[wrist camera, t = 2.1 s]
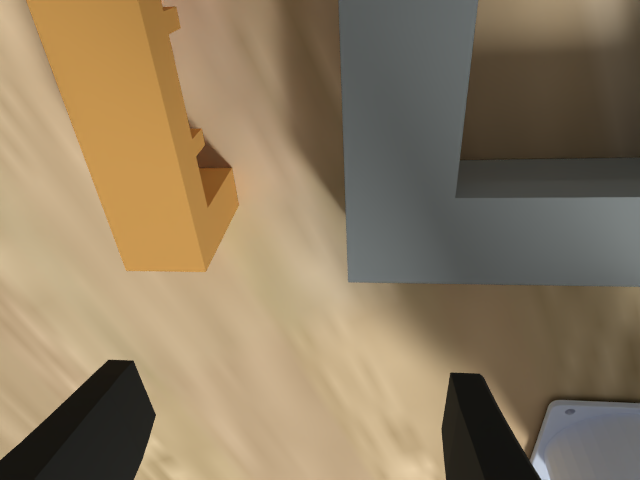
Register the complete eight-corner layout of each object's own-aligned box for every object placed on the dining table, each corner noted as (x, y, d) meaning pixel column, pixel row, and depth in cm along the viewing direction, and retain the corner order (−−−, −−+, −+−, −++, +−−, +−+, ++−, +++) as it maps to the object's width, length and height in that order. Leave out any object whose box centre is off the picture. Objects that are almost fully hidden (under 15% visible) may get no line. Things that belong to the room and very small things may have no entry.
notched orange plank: (81, -138, 14) (-35, -164, 10) (175, -147, 14) (93, -177, 10) (174, 205, 21) (126, 270, 17) (238, 205, 20) (205, 272, 16)
